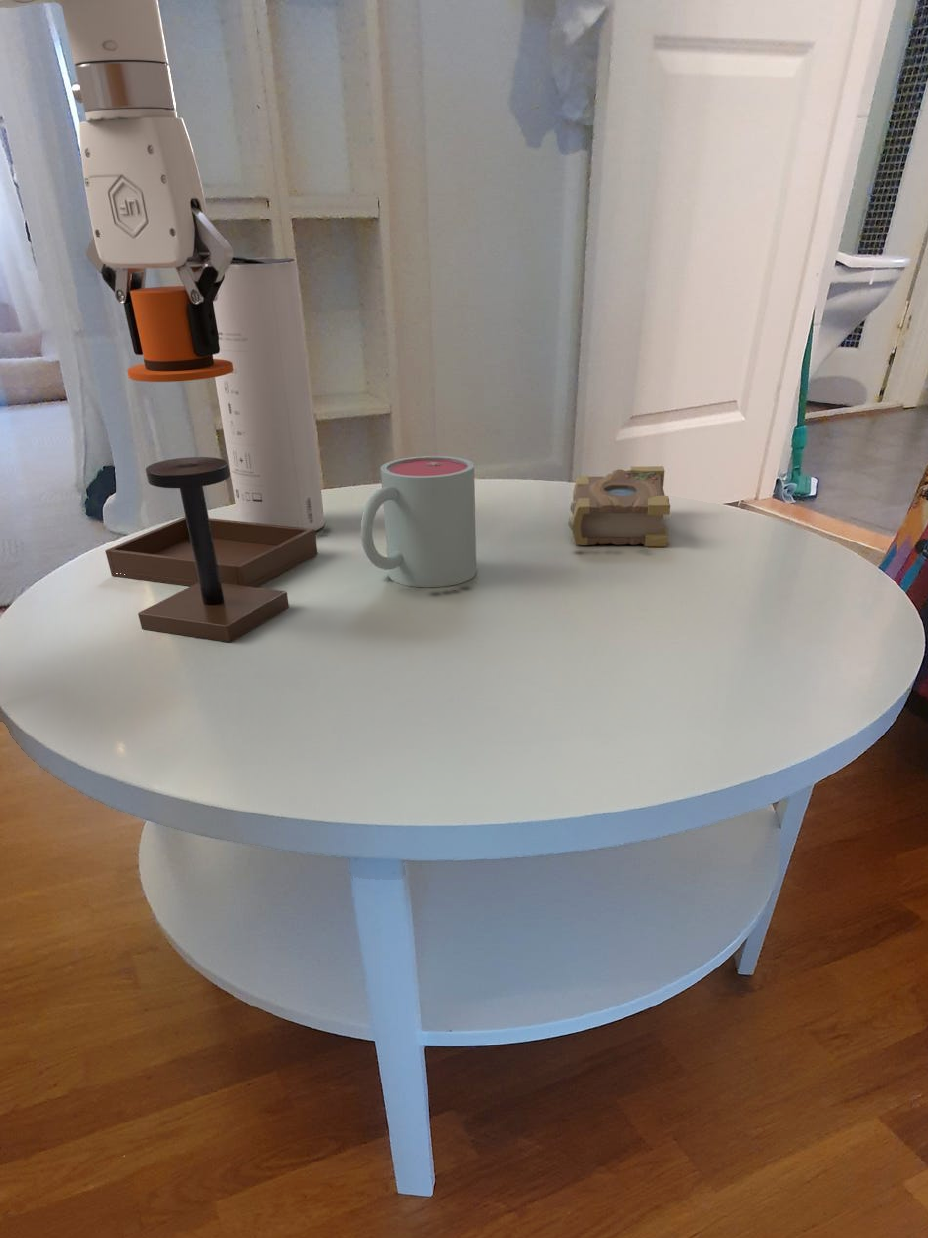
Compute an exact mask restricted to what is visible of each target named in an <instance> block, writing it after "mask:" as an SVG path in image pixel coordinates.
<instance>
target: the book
mask: <svg viewBox="0 0 928 1238" xmlns="http://www.w3.org/2000/svg"><path fill="white" fill-rule="evenodd" d="M664 480H665V468H664V466H663V465H661V466H659V465H658V466H657V465H656V466H655V465H654V466H652V465H651V466H630V470H624V469H616V470H615V469H614V470H613V471H612V473H608V474H606V475H605V476H589V475H582V476H579V475H578V477H577V479H576V482H575V484H574V488H573V492H572V493H573V494H572V502H570V506H569V508H570V509H569V510H570V512H571V513H572V516H571V517H570V518H569V519H568V521H567V525H568V527H569V529H570V530H571V531H572V534H573V537H574V541H575V544H576V546H587V545H588V546H589V545H592V546H593V545H596V544H599V545H607V544H612V545H627V544H629V545H640V544H641V545H644V547H667V544H668V533H667V529H666V527H665V526H663V523H664V516H670V515H671V504H670V497H669V495H665V491H664V482H665V481H664Z"/></svg>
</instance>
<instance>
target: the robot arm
mask: <svg viewBox="0 0 928 1238" xmlns="http://www.w3.org/2000/svg"><path fill="white" fill-rule="evenodd" d="M53 3H54V4H58V5H60V6H61V9H62V14H63V19H64V24H65V28H66V33H67V37H68V42H69V46H70V52H71V55H72V60H73V65H74V67H75V68H74V70H75V75H76V79H77V82H73V84H72V88H71V89H72V94H73V97H74V100H75V101H76V102H77V103H78V104H82V106H83V111H84V116H85V120H83V121H78V122H79V125H78V126H79V132H78V133H79V147H80V160H81V166H82V167H81V169H82V177H83V184H84V191H85V197H86V203H87V209H88V215H89V220H90V225H91V230H92V236H91V238H90V240H89V243H88V245H87V247H86V250H85V255H86V257H87V259H88V261H90V263H91V264H92V265H93V267H94V268H95V269H96V271H98V273H99V274H101V276H102V279H103V280H104V283H106V284H107V285H108V286H109V288H110V289H111V290H112V292H114V296H115V299H116V301H117V302H118V303H119V304H121V305H123V308H124V312H125V318H126V322H127V326H128V327H127V328H128V331H129V335H130V340H131V344H132V345H131V346H132V349H133V353H134V354H135V355H136V356H144V355H143V351H142V346H141V341H140V337H139V332H138V327H137V322H136V318H135V313H134V308H133V304H132V299H131V294H130V291H131V290H135V289H142V288H146V282H147V281H146V280H147V270H148V269H173V268H175V270H176V273H177V274H178V276H179V279H180V280H181V283H182V286H184V287H185V289H186V291H187V293H188V295H189V297H190V300H191V301H192V304H189V305H187V315H188V320H189V325H190V331H191V336H192V342H193V347H194V352H195V354H196V355H197V356H198V357H205V356H209V355H214V354H218V353H219V352H220V346H219V334H218V329H217V323H216V317H215V311H214V305H213V302H215V301H216V300H217V299H218V291H219V289H220V287H221V285H222V283H223V281H224V278H225V272H227V269H228V267H229V265H230V263H231V261H232V259H233V256H235V252H234V248H233V246H231V244H230V243H229V242H228V241H227V240H226V239H225V238H224V236H223V235H222V234H221V233H220V232H219V230H217V228H216V227H215V226H214V224H213V223H212V222H211V220H210V218H209V214H208V213H209V212H208V208H207V203H206V198H205V194H204V189H203V185H202V179H201V177H200V172H199V171H200V170H199V168H198V164H197V159H196V157H195V153H194V149H193V146H192V143H191V139H190V136H189V133H188V129H187V127H186V125H185V122H184V119H183V117H178V113H177V107H176V100H175V95H174V91H173V83H172V77H171V72H170V66H169V60H168V54H167V48H166V42H165V37H164V31H163V23H162V19H161V18H162V17H161V13H160V7H159V1H158V0H0V8H2V9H3V8H4V9H12V8H13V9H15V8H21V7H26V6H33V5H42V4H53ZM207 261H209V264H208V266H207V267H206V266H205V263H206V262H207Z"/></svg>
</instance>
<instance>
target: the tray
mask: <svg viewBox="0 0 928 1238" xmlns="http://www.w3.org/2000/svg"><path fill="white" fill-rule="evenodd" d="M209 522H210V527H211V532H212V538H213V543H214V548H215V553H216V559H217V564H218V569H219V574H220V580H221V583H225V584H233V585H241V586H248V587H256V588H259V587H260V586H262V585H264V584H265V583H267V582H269V581H271V580H273V579H274V578H276V577H278V576H280V575H282V574H285V572H287V571H289V570H291V569H293V568H294V567H296V566H299V565H300V564H302V563H303V562H305V561H307V560H309V559H311V558H313V557H314V556H316V555H318V554H319V553H318V545H317V538H316V531H315V530H314V529H309V528H300V527H290V526H280V525H271V524H261V523H251V522H241V521H238V520H230V519H222V518H220V519H219V518H211V517H209ZM105 555H106V560H107V563H108V566H109V570H110V574H111V576H112V577H118V578H126V579H127V578H128V579H134V580H139V581H140V580H141V581H147V582H148V581H149V582H156V583H163V584H171V585H178V586H185V587H191V586H193V585H195V584H196V583H198V582H199V580H198V576H197V571H196V566H195V561H194V556H193V551H192V546H191V541H190V537H189V532H188V527H187V522H186V517H185V516H183V517H181V518H179V519H177V520H174V521H172V522H169V523H167V524H164V525H162V526H160V527H157V528H155V529H153V530H150V531H148V532H146V533H143V534H141V535H138V536H135V537H133V538H131V539H129V540H126V541H124V542H121V543H119V544H116V545H114V546H112V547H110V548H107V549H105ZM116 573H118V574H116ZM120 573H121V574H120ZM124 574H125V575H124Z"/></svg>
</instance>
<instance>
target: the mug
mask: <svg viewBox="0 0 928 1238" xmlns="http://www.w3.org/2000/svg"><path fill="white" fill-rule="evenodd" d="M380 478H381V479H380V480H381V481H380V482H381V488H380V489H378V490H376V491H375V492H374V493H373V494H372V495H371V496H370V497H369V499H368V501H367V502H366V504H365V505H364V506H365V507H364V509H363V512H362V515H361V521H360V540H361V544H362V549H363V551H364V553H365V556H366V558H367V559H368V560H369V561H370V563H371V564H372V565H374V566H375V567H377V568H378V569H380V570H385V571H387V572H388V577H389V579H390V580H391V581H393V582H395V583H397V584H400V585H404V586H406V587H415V588H442V587H449V586H450V587H451V586H455V585H459V584H462V583H465V582H468V581H470V580H472V579H473V578H474V577H475V576H476V574H477V544H476V543H477V540H476V539H477V537H476V495H475V491H476V490H475V489H476V488H475V464H474V462H473V461H471V460H470V459H467V458H461V457H456V456H448V455H447V456H446V455H421V456H411V457H404V458H398V459H395V460H391V461H388V462H386V463H384V464H382V465H381V466H380ZM381 506H383V517H384V519H383V520H384V532H385V543H386V545H385V546H386V556H384V555H382V554H380V553H379V551H378V550H377V548H376V546H375V543H374V538H373V537H374V536H373V527H374V520H375V517H376V515H377V512H378V510H379V509H380V507H381Z"/></svg>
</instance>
